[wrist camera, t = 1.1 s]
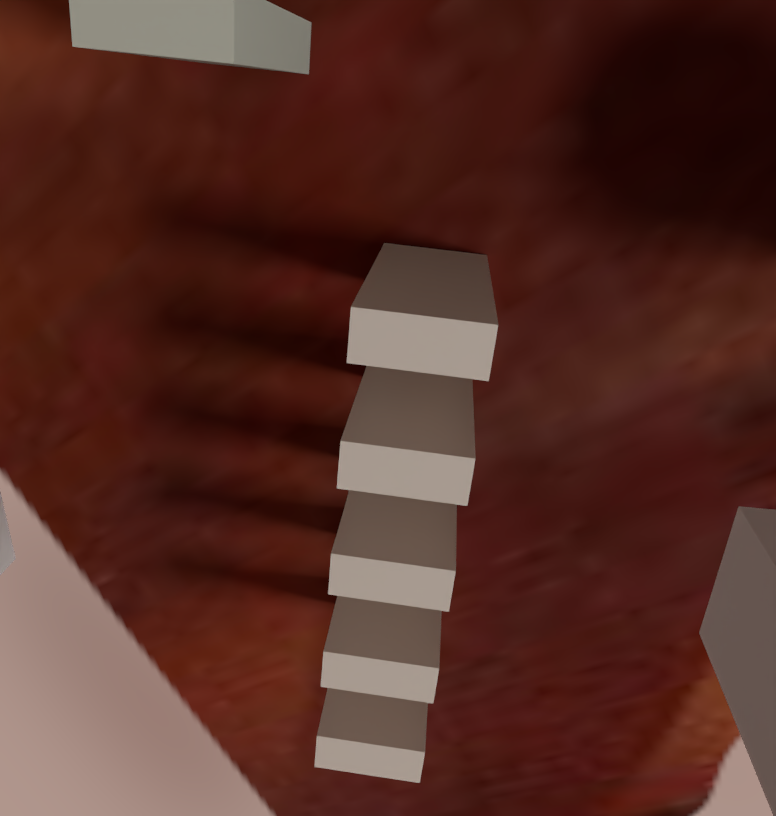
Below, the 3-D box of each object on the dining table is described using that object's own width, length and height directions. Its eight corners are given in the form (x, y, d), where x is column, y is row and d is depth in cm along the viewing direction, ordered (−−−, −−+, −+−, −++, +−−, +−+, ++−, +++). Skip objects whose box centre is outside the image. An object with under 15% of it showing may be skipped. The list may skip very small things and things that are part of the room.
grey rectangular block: (351, 580, 37) (317, 735, 28) (433, 592, 37) (424, 752, 28) (349, 607, 38) (314, 766, 29) (429, 618, 38) (419, 782, 29)
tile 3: (374, 342, 32) (340, 440, 23) (471, 354, 32) (475, 458, 23) (371, 378, 33) (336, 488, 24) (465, 390, 32) (467, 505, 23)
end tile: (198, 10, 27) (66, -32, 18) (311, 22, 27) (234, -15, 18) (199, 62, 28) (72, 46, 19) (309, 74, 28) (233, 63, 19)
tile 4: (366, 430, 34) (331, 553, 25) (457, 442, 34) (455, 570, 24) (363, 462, 34) (327, 594, 25) (452, 475, 34) (448, 611, 25)
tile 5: (358, 509, 36) (323, 651, 27) (445, 521, 35) (439, 668, 26) (356, 538, 36) (320, 686, 27) (440, 550, 36) (433, 703, 27)
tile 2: (384, 242, 30) (351, 306, 21) (486, 254, 30) (498, 325, 21) (380, 283, 31) (346, 362, 22) (480, 296, 31) (488, 381, 21)
